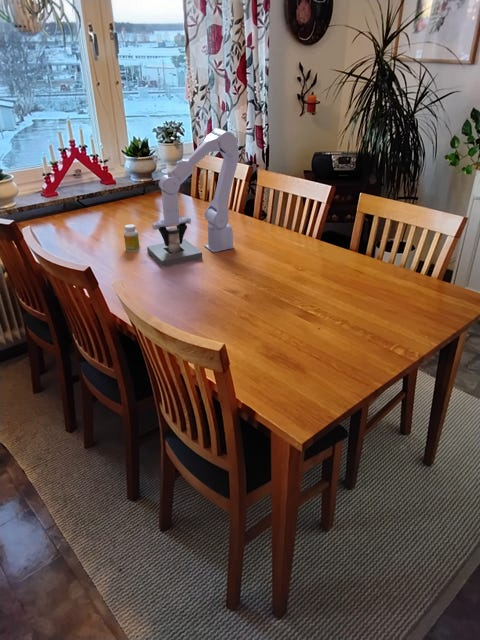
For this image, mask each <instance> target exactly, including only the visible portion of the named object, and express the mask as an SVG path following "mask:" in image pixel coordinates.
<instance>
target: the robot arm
mask: <svg viewBox="0 0 480 640" xmlns="http://www.w3.org/2000/svg"><path fill="white" fill-rule="evenodd" d="M212 152H220V154H221V156H222V157H223V159H222V164H221V166H220V167H221V168H220V170H219V176H218V180H217V184H216V188H215V192H214V195H213V199H212V200H211V201H210V202H209V204H208V207H207V209H205V212H204V218H205V220H206V221H207V244H204V247H205V248H206V249H208V250H209V251H210V252H212V253H217V252H221V251H225V250H230V249H234V248H235V247H234V230H233V227H232V225H231V224H229V221H230V219H229V218H230V217H229V213H230V212H229V207H228V201H229V197H230V194H231V193H230V192H231V189H232V187H233V182H234V178H235V175H236V170H237V166H238V162H239V159H240V153H239V148H238V139H237V137H236V136H235V134H234V133H232V132H231V131H228V130H224V129H222V128H220V127H216V128H214V129H213V130H212V131H211V132H210V133H209V134H207V135H206V137H205V138H204V140H203V141H202V142H201V143H200V144H199V145H198V146H197V148H195V150H194V151H193V152H192V153H191V154H190V155H189V157H187V159H180V160H178V161H176V165H175V166H174V167H173V168H172V169H171V170H170V171H169V170H168V171H167V172H166V173H167V174H164V175H162V176H161V177H160V179H159V182H158V187H159V188H160V190H161V200H162V201H161V202H162V215H163V220H159V221H157V222H153V223H152V229H153V230H158V232H159V234H160V235H161V237H162V239H163V243H165V245H166V246H169V243H168V230H167V228H168V227H169V228H170V227H176V228H177V229H179V230H180V232H179V240H180V244H182V241H183V239H184V236H185V234H186V232H187V231H186V230H187V229H188V225H187V224H189V225H190V224H192V219H191V217H189V216H187V217H180V208H179V196H178V195H179V194H178V192H179V190H180V187H181V185H182V184H183V182H185V181H186V180H187V179H188V177H190V176H191V175H192V174H193V173H194V167H195V166H196V165H197V164H199V162H201V161H202V160H203V159H204V158H205V157H206V156H207V155H208V154H210V153H212Z"/></svg>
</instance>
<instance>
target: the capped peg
mask: <svg viewBox="0 0 480 640" xmlns="http://www.w3.org/2000/svg"><path fill="white" fill-rule="evenodd" d="M167 230H168V243H169V246H168V247H169V252H171V253H176V252H179V251H180V240H179V232H180V230H179V229H177V227H172V228H168V229H167ZM171 253H170V254H171Z"/></svg>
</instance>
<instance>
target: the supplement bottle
mask: <svg viewBox="0 0 480 640" xmlns="http://www.w3.org/2000/svg"><path fill="white" fill-rule="evenodd" d="M124 230H125V231H124V232H123V239H124V244H125V251H126V252H131V253H132V252H134V253H135V252H137V251H139V250H140V240H139V239H140V238H139V234H138V233H139V231H138V230H136V225H135V224H132V223H131V224H125V225H124Z"/></svg>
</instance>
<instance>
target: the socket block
mask: <svg viewBox="0 0 480 640" xmlns="http://www.w3.org/2000/svg"><path fill="white" fill-rule="evenodd" d="M146 250H147V254H149V255H150V256H151V257H152V258H153V260H154V261H156V262H157V264H159V266H161V267H162V268H166V267H171V266H175V265H179V264H183V263H189V262H194V261H198V260H203V252H202V251H200V250H199V249H198V248H197V247H196V246H194V244H192V243H191V242H190V241H188V240H187V239H186V238H183V241H182V244H180V251H179V252H176V253H171V252H169V247H168V246H166V245H165V243H164V242H163V243H158V244H153V245H148V246H146Z"/></svg>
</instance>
